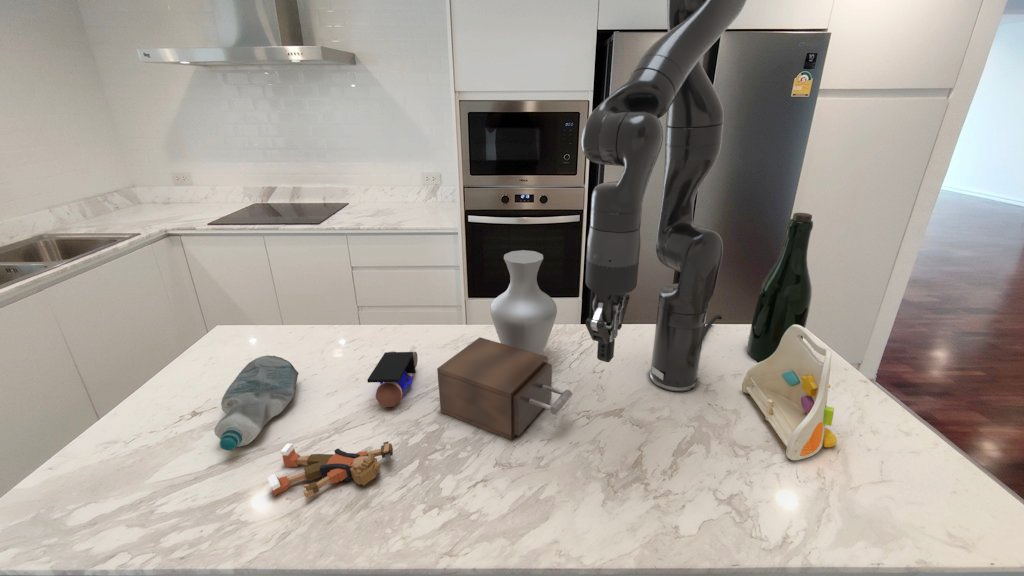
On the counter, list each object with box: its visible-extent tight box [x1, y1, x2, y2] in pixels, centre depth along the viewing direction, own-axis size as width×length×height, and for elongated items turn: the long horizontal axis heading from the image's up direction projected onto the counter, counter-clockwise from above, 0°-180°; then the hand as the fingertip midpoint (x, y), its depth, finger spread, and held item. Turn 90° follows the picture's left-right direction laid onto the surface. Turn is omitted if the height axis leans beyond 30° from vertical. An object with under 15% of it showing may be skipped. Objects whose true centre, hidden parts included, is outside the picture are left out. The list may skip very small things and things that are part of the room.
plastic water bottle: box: [213, 355, 299, 451], centre depth 90 cm, size 13×7×25 cm
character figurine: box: [267, 441, 394, 499], centre depth 76 cm, size 12×5×18 cm
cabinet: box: [436, 336, 549, 441], centre depth 92 cm, size 16×14×10 cm
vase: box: [489, 249, 558, 355], centre depth 104 cm, size 14×14×25 cm
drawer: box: [513, 362, 573, 437], centre depth 89 cm, size 20×13×8 cm, turn 59°
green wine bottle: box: [746, 212, 814, 362], centre depth 103 cm, size 10×10×33 cm
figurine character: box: [366, 351, 419, 408], centre depth 98 cm, size 7×8×15 cm
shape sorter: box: [741, 325, 837, 461], centre depth 84 cm, size 20×10×18 cm, turn 177°
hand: (605, 358), depth 77 cm, fingers closed
